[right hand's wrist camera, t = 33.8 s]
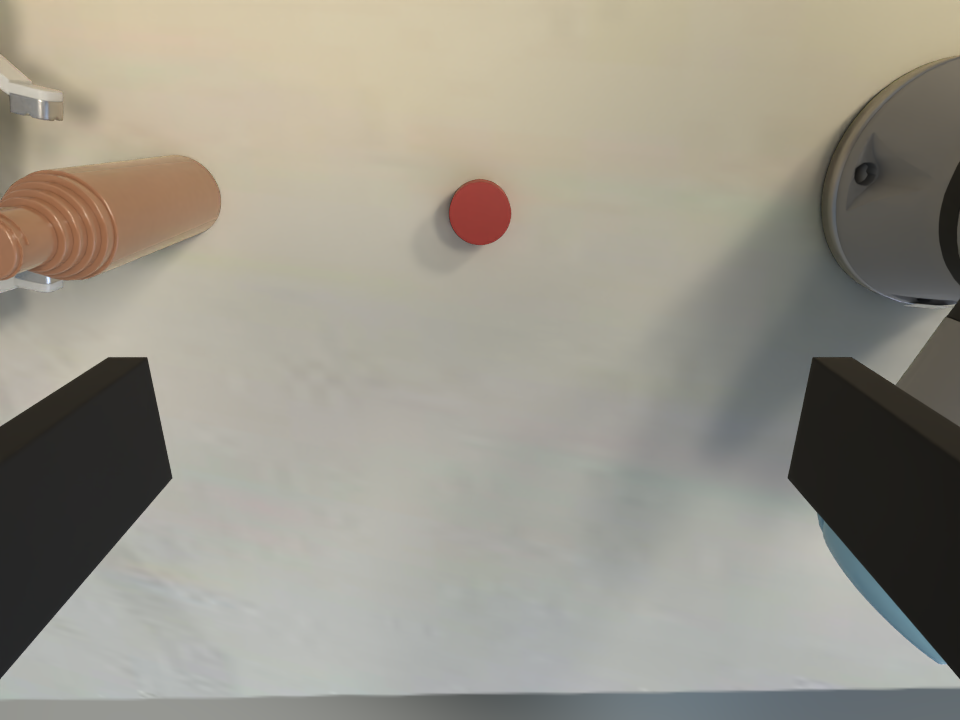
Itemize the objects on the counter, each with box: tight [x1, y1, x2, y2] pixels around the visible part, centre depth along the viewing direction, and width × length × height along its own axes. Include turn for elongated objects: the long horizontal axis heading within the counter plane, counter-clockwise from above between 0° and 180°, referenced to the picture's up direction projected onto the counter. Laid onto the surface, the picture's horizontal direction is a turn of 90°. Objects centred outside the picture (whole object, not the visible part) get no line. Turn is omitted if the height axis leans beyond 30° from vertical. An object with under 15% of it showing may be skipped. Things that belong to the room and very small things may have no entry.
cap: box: [449, 179, 511, 245], centre depth 40 cm, size 4×4×2 cm
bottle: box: [0, 155, 221, 281], centre depth 33 cm, size 5×5×18 cm
